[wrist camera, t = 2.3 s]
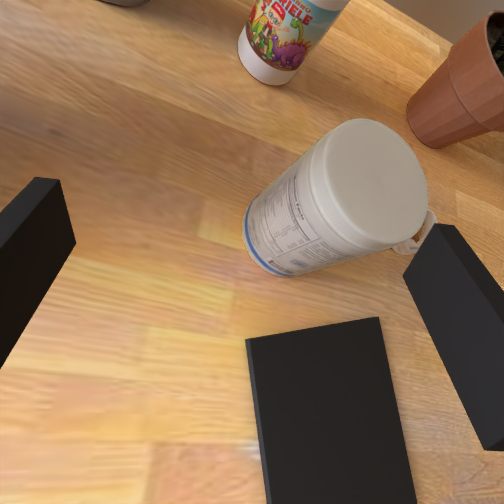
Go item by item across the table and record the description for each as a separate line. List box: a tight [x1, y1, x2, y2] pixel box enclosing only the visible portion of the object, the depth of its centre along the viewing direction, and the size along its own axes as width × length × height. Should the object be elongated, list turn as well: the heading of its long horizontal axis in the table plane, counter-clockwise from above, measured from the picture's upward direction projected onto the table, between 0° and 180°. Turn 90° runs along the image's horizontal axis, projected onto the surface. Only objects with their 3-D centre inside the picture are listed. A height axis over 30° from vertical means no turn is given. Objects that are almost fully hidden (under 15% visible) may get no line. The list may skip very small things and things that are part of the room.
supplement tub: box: [242, 118, 428, 277], centre depth 30 cm, size 10×10×15 cm
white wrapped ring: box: [391, 209, 438, 255], centre depth 42 cm, size 8×7×5 cm
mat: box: [245, 317, 417, 504], centre depth 33 cm, size 20×16×1 cm
